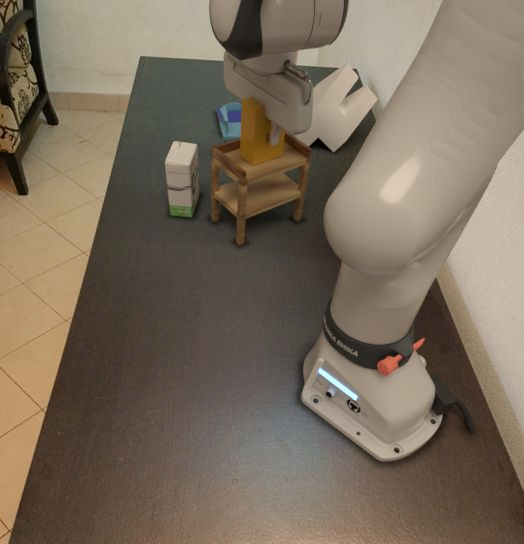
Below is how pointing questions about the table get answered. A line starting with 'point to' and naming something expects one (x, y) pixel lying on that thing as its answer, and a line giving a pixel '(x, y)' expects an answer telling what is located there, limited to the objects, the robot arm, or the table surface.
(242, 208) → the rack
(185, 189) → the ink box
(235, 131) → the chair
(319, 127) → the slotted wedge
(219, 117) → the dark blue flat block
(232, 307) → the table surface
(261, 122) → the yellow block
